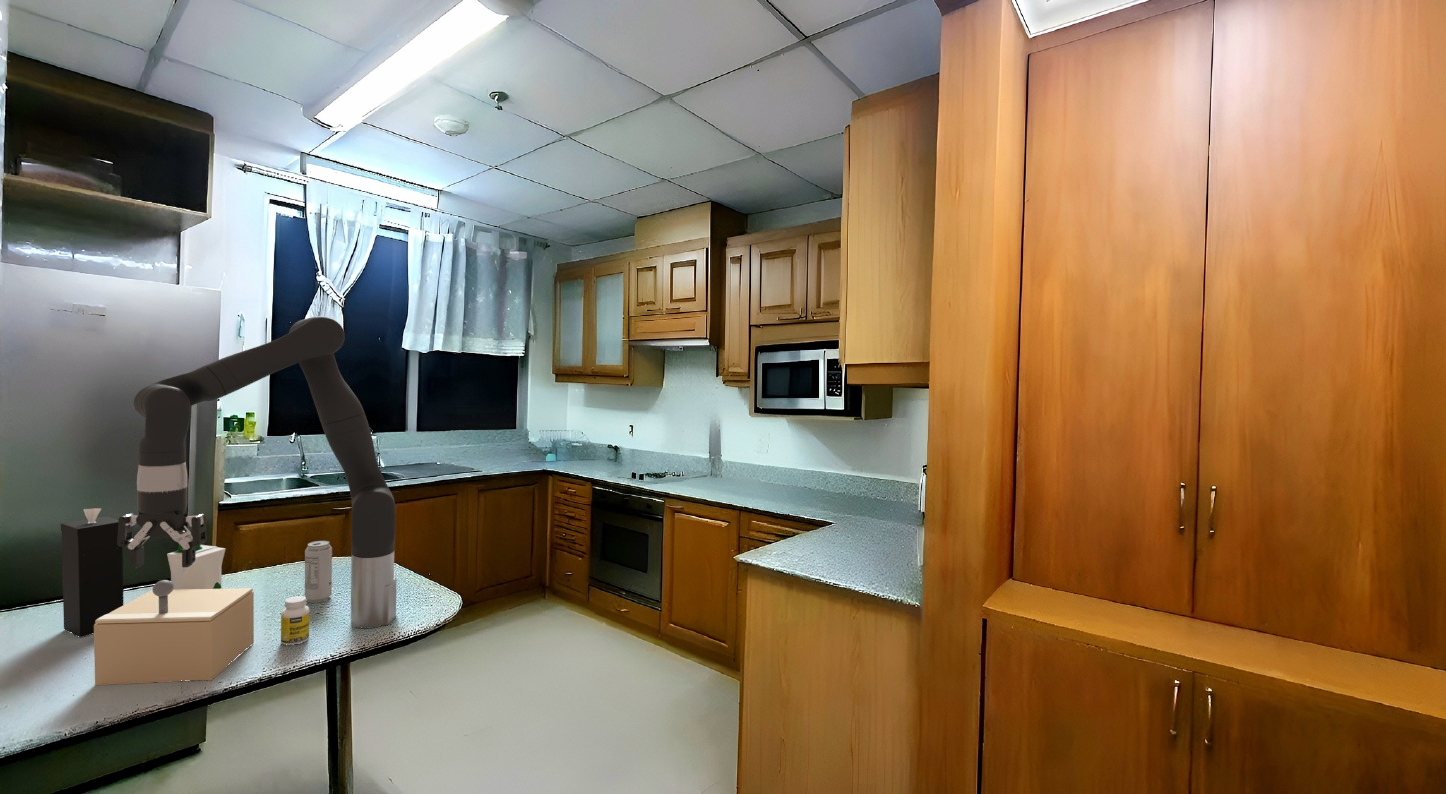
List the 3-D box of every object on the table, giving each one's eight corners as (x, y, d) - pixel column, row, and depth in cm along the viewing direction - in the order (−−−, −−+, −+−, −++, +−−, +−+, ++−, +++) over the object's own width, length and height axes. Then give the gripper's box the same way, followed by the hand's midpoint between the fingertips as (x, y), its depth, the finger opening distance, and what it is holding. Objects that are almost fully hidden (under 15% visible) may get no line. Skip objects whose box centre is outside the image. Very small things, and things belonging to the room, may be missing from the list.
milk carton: (200, 615, 158) (199, 535, 157) (231, 620, 156) (230, 539, 155) (162, 630, 149) (161, 545, 148) (194, 635, 148) (194, 549, 146)
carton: (253, 643, 145) (253, 591, 144) (211, 680, 129) (211, 621, 129) (151, 647, 141) (150, 593, 141) (95, 684, 126) (93, 624, 125)
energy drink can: (336, 598, 172) (336, 543, 171) (311, 605, 167) (312, 548, 166) (324, 592, 175) (324, 538, 174) (300, 599, 170) (300, 543, 169)
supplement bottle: (288, 648, 144) (288, 605, 143) (276, 641, 147) (276, 599, 146) (314, 639, 148) (314, 598, 148) (302, 633, 151) (302, 592, 151)
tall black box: (124, 625, 151) (122, 507, 149) (79, 638, 144) (77, 514, 142) (107, 618, 154) (105, 502, 152) (62, 630, 147) (60, 508, 145)
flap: (252, 590, 144) (252, 558, 144) (210, 620, 129) (209, 584, 128) (151, 592, 141) (151, 559, 140) (95, 623, 125) (94, 586, 125)
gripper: (214, 482, 133) (214, 560, 134) (134, 481, 130) (135, 560, 131) (191, 490, 126) (191, 572, 127) (106, 489, 123) (107, 573, 124)
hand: (163, 566), depth 129 cm, fingers open, 8 cm apart
